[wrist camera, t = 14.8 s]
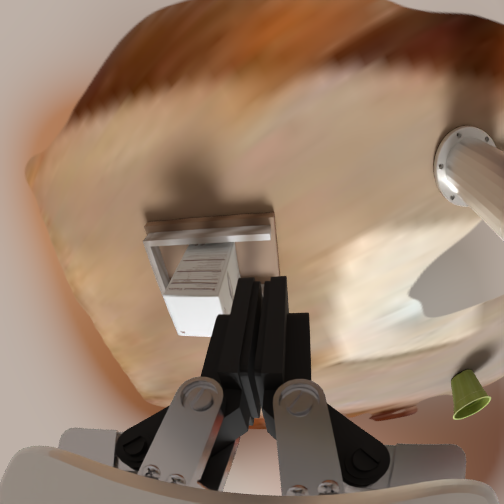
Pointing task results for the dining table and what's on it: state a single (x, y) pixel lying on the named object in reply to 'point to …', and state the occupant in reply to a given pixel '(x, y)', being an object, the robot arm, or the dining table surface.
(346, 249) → the dining table surface
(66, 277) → the dining table surface
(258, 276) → the board
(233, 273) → the supplement box
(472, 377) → the plant pot
